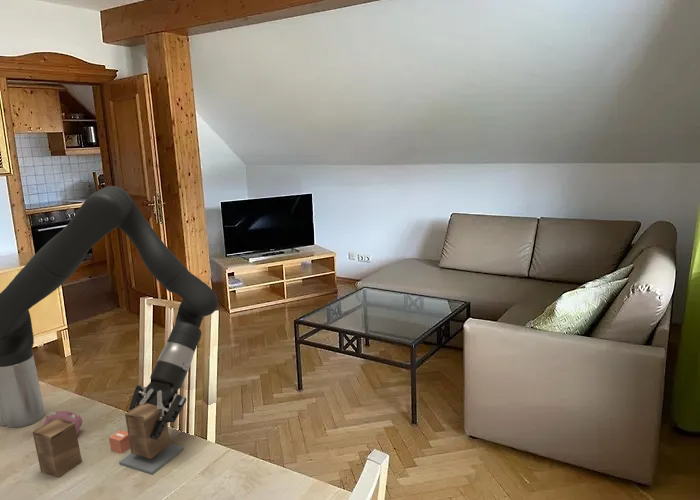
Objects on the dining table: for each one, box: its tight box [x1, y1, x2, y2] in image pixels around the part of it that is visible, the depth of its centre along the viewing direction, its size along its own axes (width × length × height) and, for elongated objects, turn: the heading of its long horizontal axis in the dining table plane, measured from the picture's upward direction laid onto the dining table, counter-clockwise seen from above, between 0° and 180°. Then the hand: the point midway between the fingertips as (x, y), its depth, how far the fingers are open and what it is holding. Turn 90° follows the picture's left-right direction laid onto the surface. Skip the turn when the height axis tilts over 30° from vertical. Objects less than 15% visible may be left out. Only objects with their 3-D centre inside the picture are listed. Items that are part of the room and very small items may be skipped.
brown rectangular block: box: [124, 403, 171, 459], centre depth 126 cm, size 6×6×10 cm
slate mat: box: [118, 442, 184, 476], centre depth 127 cm, size 10×10×1 cm
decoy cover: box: [32, 418, 83, 478], centre depth 124 cm, size 6×6×10 cm
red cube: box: [108, 429, 131, 455], centre depth 131 cm, size 4×4×4 cm
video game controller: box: [41, 410, 83, 435], centre depth 137 cm, size 10×5×7 cm, turn 75°
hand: (142, 435), depth 124 cm, fingers closed on brown rectangular block, 6 cm apart
